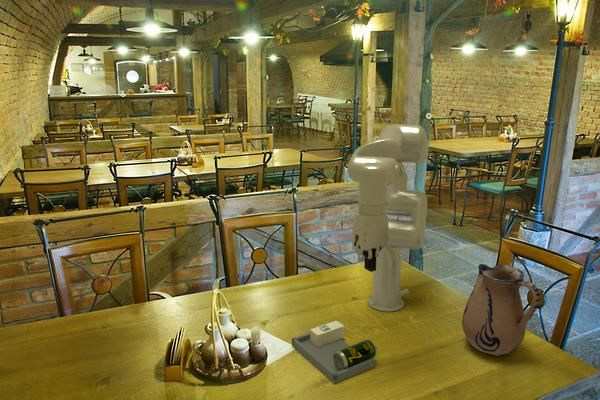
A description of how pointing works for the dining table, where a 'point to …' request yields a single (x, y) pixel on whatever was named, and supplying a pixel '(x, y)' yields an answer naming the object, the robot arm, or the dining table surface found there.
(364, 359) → the beer can
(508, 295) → the ceramic pitcher
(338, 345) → the slate tray
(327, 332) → the block
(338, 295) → the dining table surface
